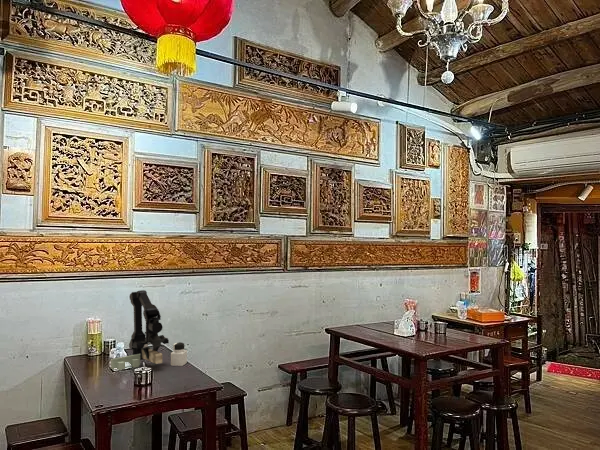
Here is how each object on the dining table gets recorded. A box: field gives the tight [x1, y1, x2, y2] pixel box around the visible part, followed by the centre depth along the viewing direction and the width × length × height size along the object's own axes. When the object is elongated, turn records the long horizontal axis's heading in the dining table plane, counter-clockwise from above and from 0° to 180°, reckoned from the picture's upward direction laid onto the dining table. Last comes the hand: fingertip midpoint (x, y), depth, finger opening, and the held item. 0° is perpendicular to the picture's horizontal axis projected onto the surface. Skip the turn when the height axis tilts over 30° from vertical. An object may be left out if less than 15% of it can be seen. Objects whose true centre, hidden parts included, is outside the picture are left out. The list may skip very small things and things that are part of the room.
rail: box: [142, 347, 163, 365], centre depth 268 cm, size 18×4×5 cm, turn 43°
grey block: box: [110, 354, 141, 371], centre depth 268 cm, size 6×16×6 cm, turn 133°
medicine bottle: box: [170, 342, 188, 367], centre depth 274 cm, size 7×7×12 cm
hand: (151, 358), depth 269 cm, fingers closed on rail, 3 cm apart
